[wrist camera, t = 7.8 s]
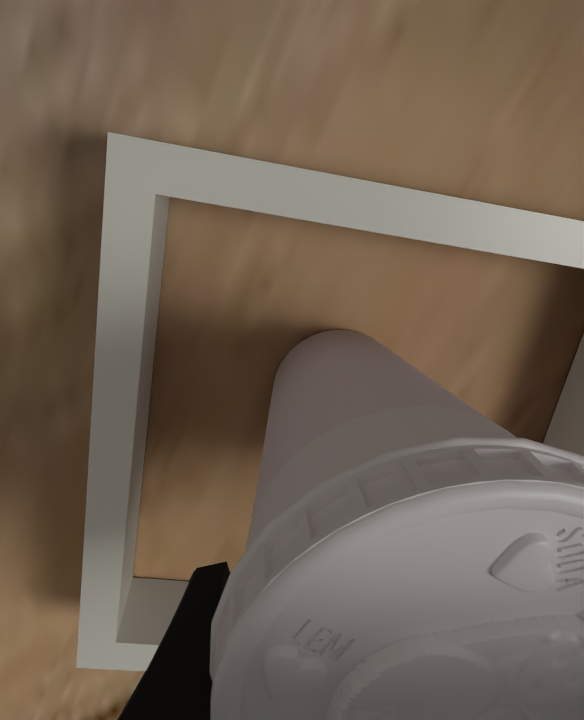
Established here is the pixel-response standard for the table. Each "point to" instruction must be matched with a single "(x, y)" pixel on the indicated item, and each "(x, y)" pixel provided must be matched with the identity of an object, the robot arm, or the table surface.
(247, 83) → the table surface
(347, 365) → the smoothie
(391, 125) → the table surface
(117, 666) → the white shallow square frame
